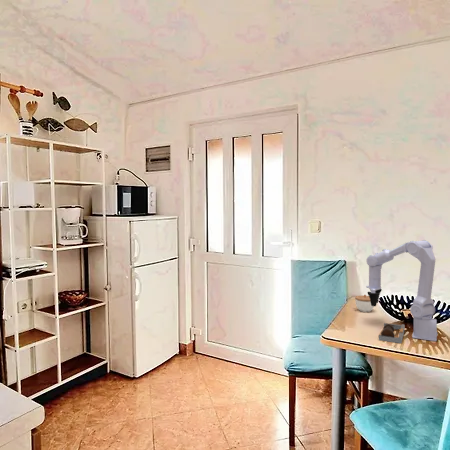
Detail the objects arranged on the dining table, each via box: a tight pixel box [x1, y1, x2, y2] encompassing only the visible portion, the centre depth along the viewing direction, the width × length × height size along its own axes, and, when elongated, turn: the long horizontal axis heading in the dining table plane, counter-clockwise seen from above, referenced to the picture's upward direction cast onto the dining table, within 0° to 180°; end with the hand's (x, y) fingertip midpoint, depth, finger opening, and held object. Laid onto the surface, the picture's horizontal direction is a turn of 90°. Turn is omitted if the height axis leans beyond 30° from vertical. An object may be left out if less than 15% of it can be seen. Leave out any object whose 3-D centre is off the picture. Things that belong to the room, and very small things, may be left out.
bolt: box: [380, 323, 396, 337], centre depth 167 cm, size 6×5×15 cm
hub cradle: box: [378, 322, 405, 344], centre depth 168 cm, size 9×21×3 cm, turn 150°
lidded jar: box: [354, 294, 375, 313], centre depth 209 cm, size 11×11×9 cm
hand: (374, 304), depth 186 cm, fingers open, 7 cm apart
